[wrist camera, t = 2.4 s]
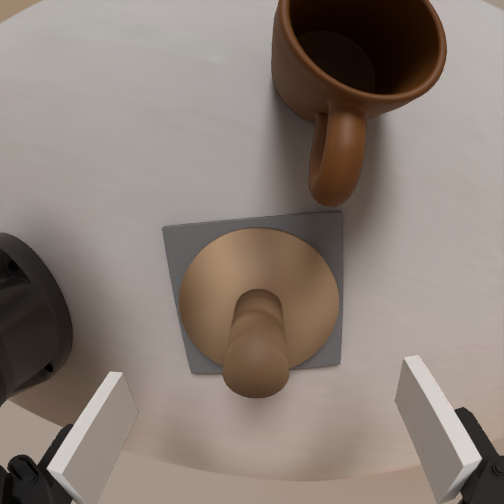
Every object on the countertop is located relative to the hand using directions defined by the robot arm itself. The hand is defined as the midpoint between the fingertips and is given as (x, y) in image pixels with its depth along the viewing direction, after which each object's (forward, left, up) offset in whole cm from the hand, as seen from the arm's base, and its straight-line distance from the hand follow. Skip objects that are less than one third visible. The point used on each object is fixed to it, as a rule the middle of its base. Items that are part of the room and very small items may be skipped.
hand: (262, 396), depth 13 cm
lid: (0, 0, -9) cm, 9 cm away
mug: (+5, +13, -10) cm, 18 cm away
